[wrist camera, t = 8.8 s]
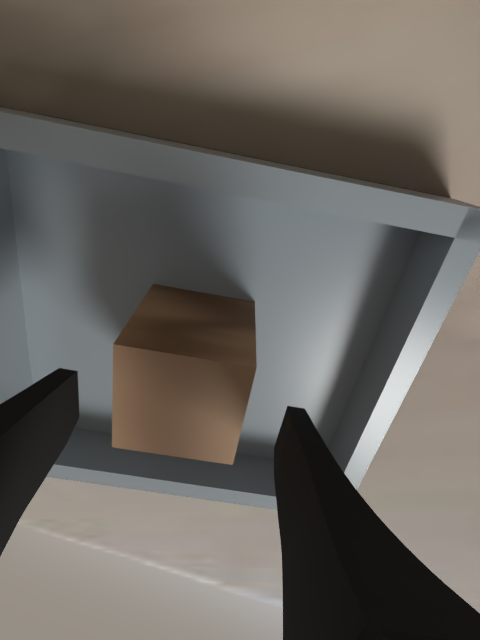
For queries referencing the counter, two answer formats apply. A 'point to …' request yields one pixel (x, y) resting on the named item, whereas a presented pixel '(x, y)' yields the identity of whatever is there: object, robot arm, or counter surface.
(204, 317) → the block
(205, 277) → the bin
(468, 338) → the counter surface
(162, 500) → the counter surface
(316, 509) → the robot arm
